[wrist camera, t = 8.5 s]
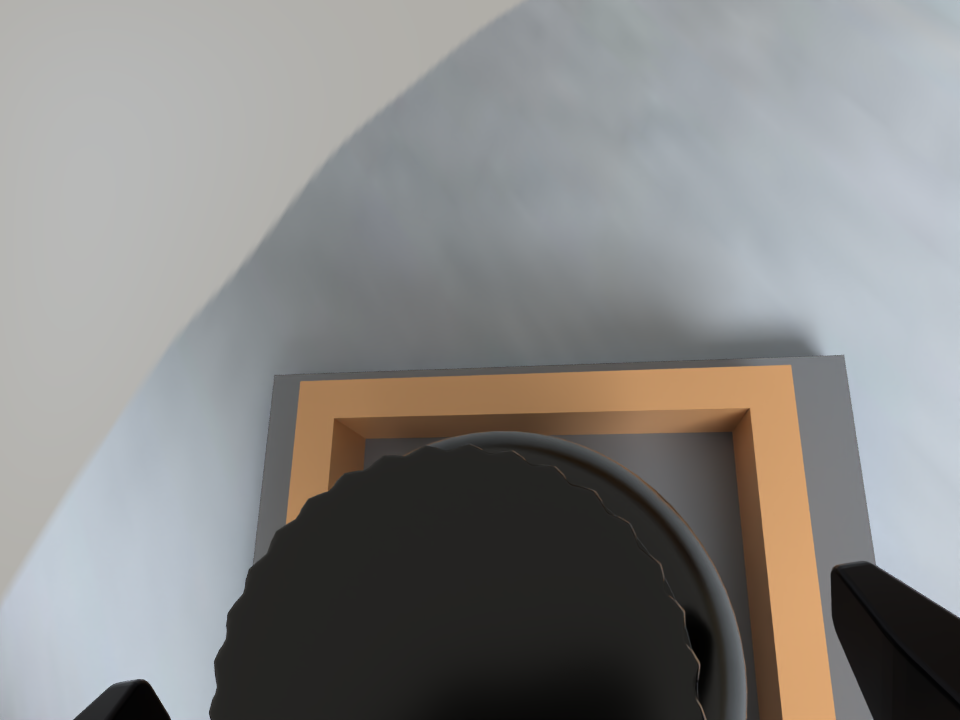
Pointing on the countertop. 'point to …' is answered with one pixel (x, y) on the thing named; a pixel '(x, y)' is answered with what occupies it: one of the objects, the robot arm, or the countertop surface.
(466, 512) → the supplement bottle
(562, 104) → the countertop surface
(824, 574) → the housing
